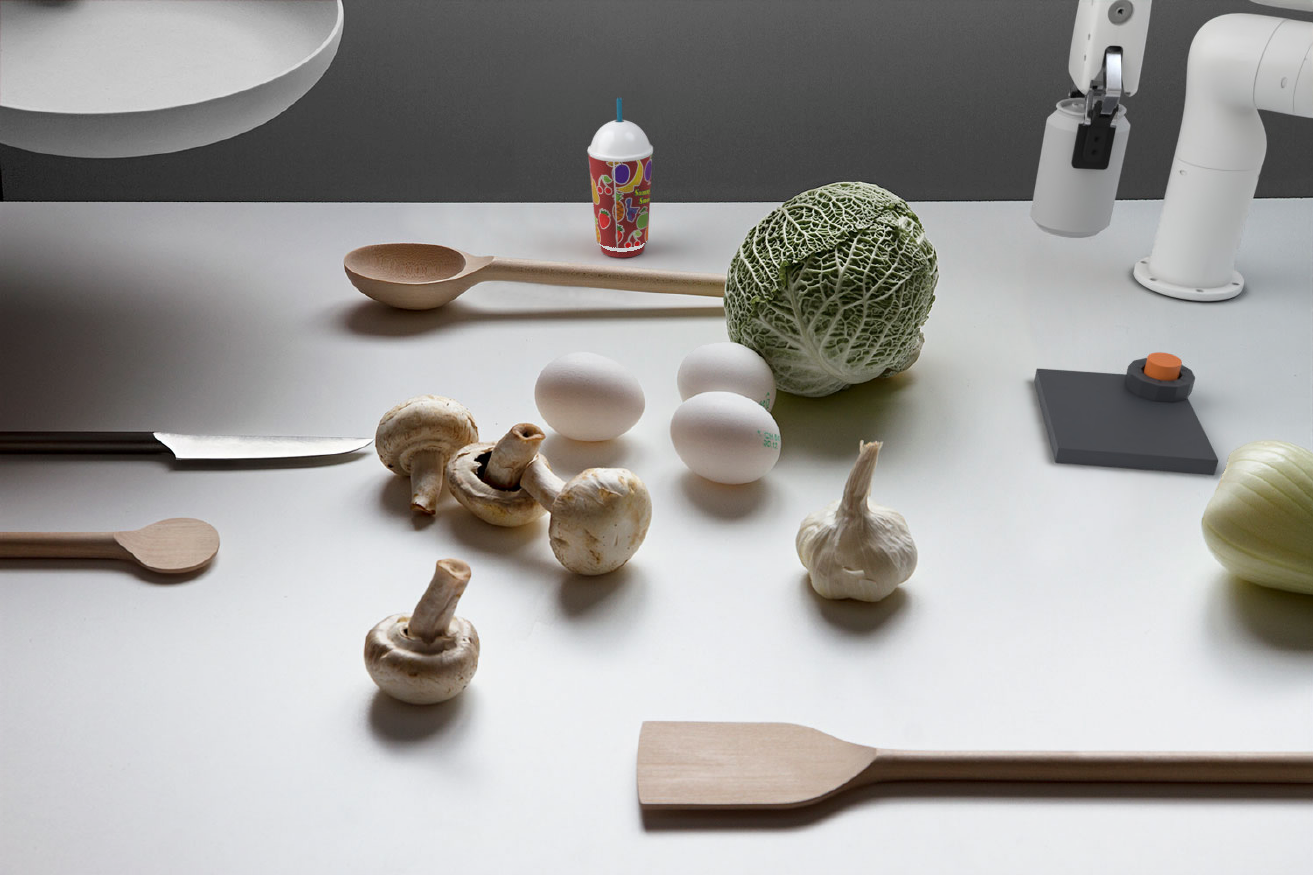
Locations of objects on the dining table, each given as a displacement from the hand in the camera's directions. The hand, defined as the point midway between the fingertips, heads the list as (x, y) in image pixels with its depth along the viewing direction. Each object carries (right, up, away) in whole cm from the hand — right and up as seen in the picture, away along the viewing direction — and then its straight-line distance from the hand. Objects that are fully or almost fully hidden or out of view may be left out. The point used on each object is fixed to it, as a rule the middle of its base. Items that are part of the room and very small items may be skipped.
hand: (1082, 153), depth 107 cm
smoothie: (-45, -2, +44) cm, 63 cm away
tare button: (+10, -21, +6) cm, 24 cm away
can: (0, -6, +4) cm, 8 cm away
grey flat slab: (+5, -26, +3) cm, 27 cm away
